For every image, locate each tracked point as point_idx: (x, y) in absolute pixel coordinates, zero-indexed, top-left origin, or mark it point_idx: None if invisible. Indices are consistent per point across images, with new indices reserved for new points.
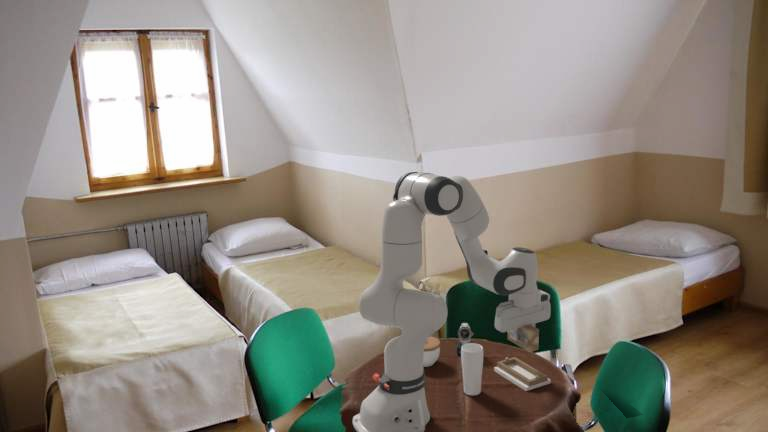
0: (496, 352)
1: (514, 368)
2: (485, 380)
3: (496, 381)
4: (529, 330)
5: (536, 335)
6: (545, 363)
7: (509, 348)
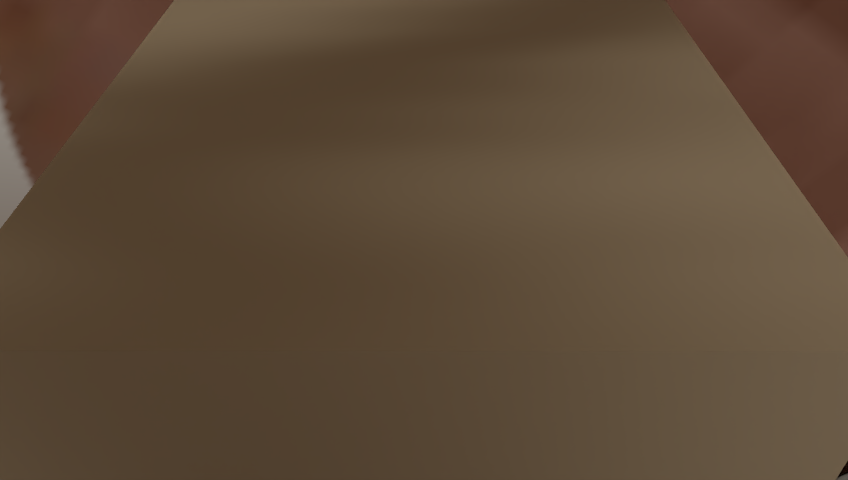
0: None
1: None
2: (815, 122)
3: (752, 50)
4: (753, 477)
5: (271, 91)
6: (21, 91)
7: None
